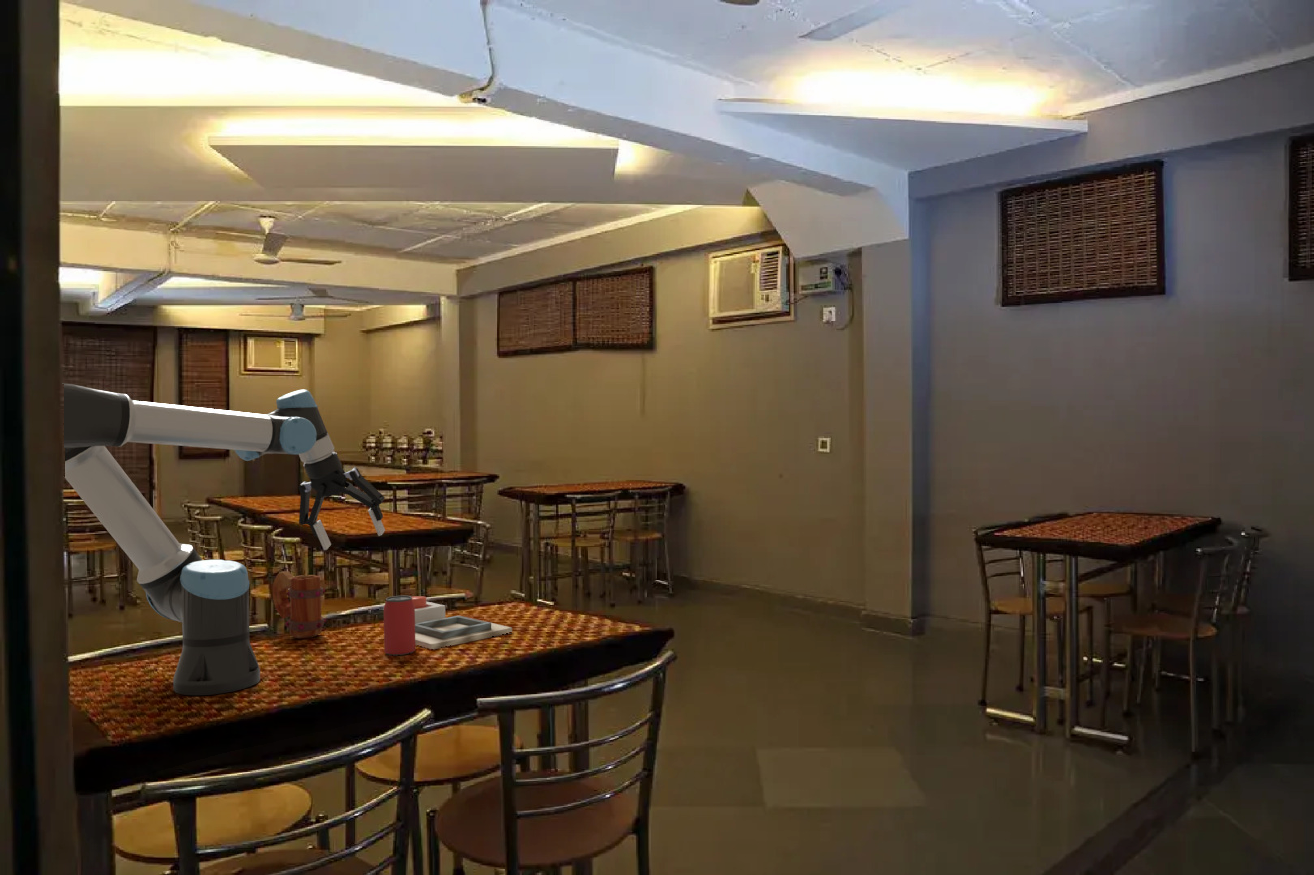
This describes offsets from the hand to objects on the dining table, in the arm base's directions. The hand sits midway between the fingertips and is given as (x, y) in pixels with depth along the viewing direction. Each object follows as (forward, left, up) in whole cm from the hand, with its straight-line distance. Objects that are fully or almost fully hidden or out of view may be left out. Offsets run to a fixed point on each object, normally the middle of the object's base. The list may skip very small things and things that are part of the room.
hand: (354, 540), depth 216 cm
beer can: (0, -18, -23) cm, 30 cm away
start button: (+17, +3, -20) cm, 26 cm away
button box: (+17, +3, -23) cm, 29 cm away
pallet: (+17, -12, -23) cm, 32 cm away
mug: (-7, +16, -23) cm, 29 cm away
